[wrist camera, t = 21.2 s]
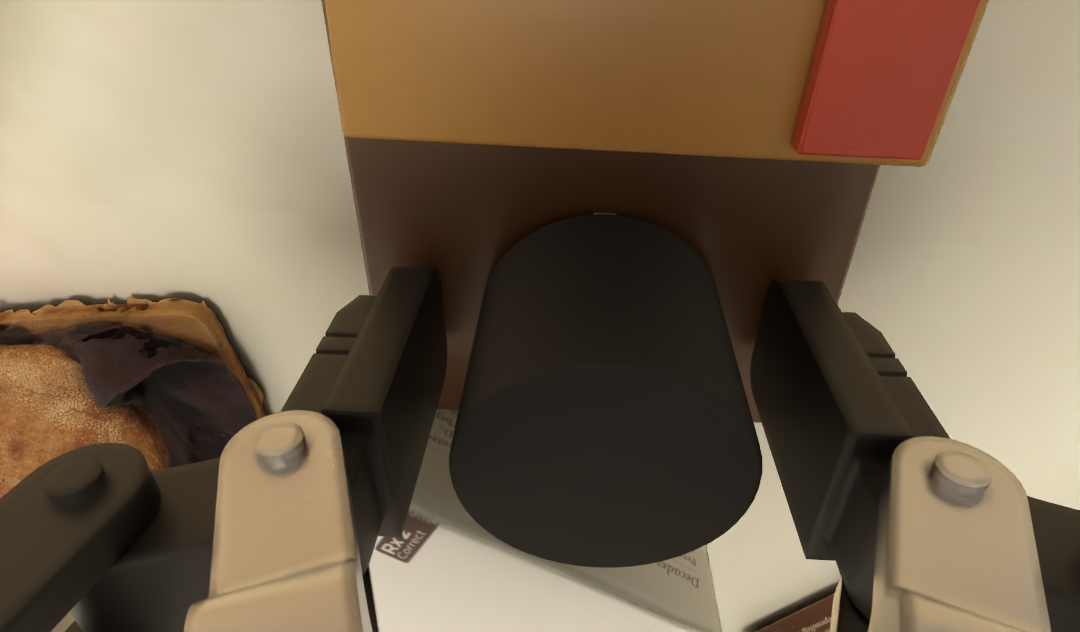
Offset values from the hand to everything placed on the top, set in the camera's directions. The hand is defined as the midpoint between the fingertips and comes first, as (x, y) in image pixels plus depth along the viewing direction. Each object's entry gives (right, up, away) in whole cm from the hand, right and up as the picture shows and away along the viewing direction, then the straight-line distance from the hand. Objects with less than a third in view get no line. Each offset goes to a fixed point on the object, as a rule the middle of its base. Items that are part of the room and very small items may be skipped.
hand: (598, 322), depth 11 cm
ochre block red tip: (0, +4, -2) cm, 5 cm away
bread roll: (-16, 0, +3) cm, 16 cm away
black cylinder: (0, 0, 0) cm, 0 cm away
